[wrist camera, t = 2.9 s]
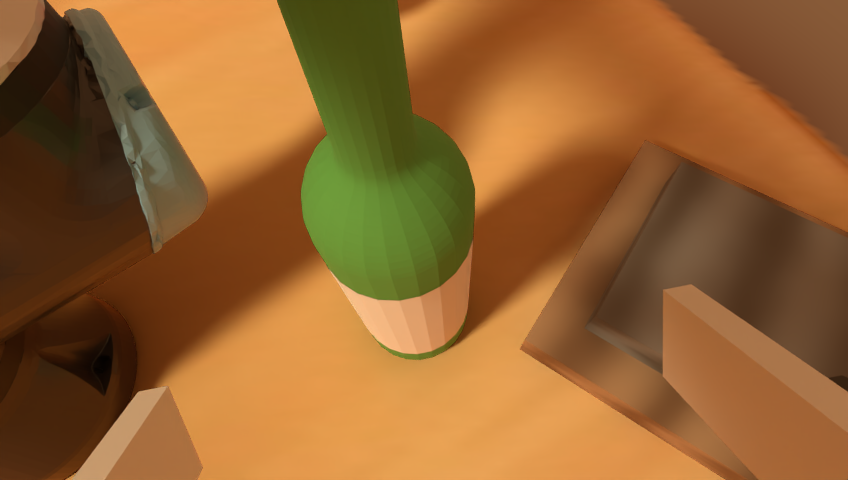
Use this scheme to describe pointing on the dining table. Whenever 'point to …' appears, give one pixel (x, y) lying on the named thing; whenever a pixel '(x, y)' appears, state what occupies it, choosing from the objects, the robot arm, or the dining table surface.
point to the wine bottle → (382, 180)
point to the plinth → (605, 359)
